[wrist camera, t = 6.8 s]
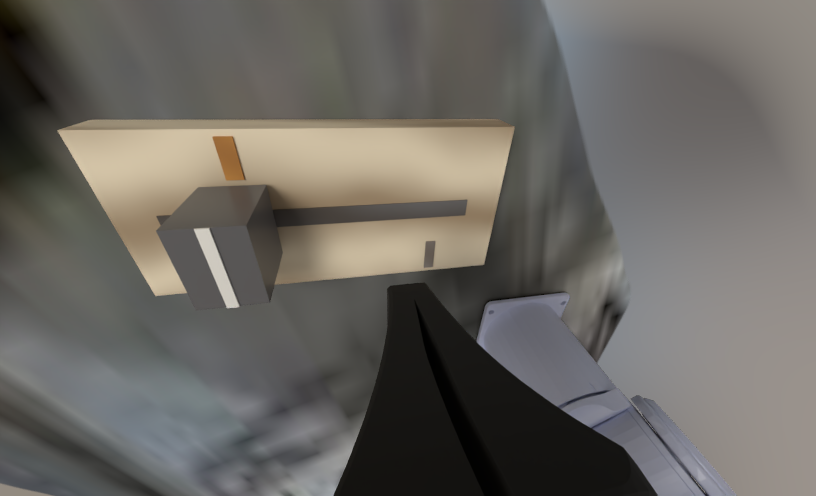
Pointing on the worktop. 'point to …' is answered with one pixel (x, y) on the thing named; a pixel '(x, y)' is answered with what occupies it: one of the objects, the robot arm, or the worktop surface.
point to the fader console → (307, 187)
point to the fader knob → (224, 246)
